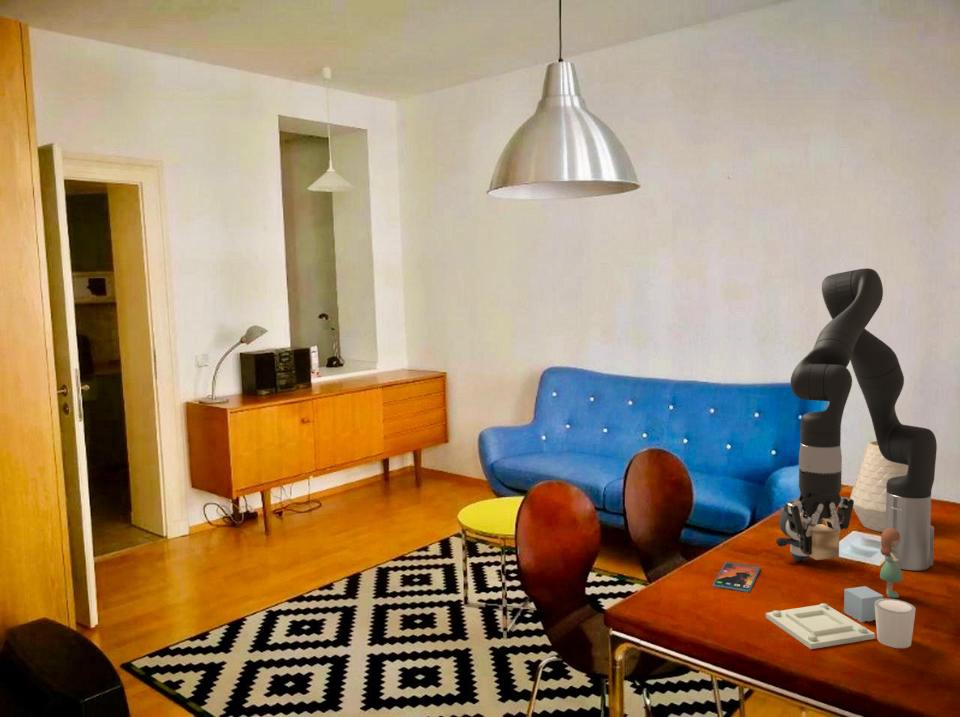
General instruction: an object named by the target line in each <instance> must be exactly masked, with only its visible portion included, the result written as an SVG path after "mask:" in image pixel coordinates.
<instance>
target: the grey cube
mask: <svg viewBox="0 0 960 717" xmlns="http://www.w3.org/2000/svg"><path fill="white" fill-rule="evenodd" d="M843 591H844V592H843V593H844V594H843V597H844V598H843V601H844V602H843V612H844V613H845V614H847V615H848V616H849V617H851V616H852V617H851V618H853V619H855V620H856V619H857V621H858V622H860V623H861V622H862V623H866V622H865V621H868V622H873V620H875V621H876V616H875V605H874V604H875V601H877V600H879V599H884V595H883V594H881V593H879V592H877V591H875V590H873V589H871V588H869V586H865V585H863V586H858V587H857V586H856V587H850V588H844V590H843Z"/></svg>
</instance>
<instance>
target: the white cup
mask: <svg viewBox="0 0 960 717" xmlns="http://www.w3.org/2000/svg"><path fill="white" fill-rule="evenodd" d="M874 605H875V616H876V620H875V624H876V625H875V626H876V639H877V641H878V642H879V644H883V645H884V646H887V647H890V648H895V649H907V648H909V647H911V646H912V641H913V633H914V625H915V616H916V607H915V606H914V605H913V604H911V603H909V602H907V601H904V600H901V599H897V598H883V599H879V600H877V601H875V604H874Z"/></svg>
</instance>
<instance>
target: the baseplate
mask: <svg viewBox="0 0 960 717" xmlns="http://www.w3.org/2000/svg"><path fill="white" fill-rule="evenodd" d="M765 618H766V619H767V620H768V621H770V622H771V623H773V624H774V625H775V626H777V627H778V628H780V629H781V630H783V631H784V632H785V633H787V634H789V635H790V636H791V637H793V638H794V639H796V640H797V641H798V642H800V643H801V644H802V645H804V646H806V647H807V648H808V649H809V650H814V649H815V650H816V649H820V648H827V647H832V646H833V647H834V646H838V645H844V644H851V643H857V642H863V641H869V640H875V639H876V634H875V632H873V631H871V630H870V629H868V628H867V627H866V626H863V625H861V624H860V623H858V622H856V621H855V620H853V619H851V618H850V617H848V616H846V615H845V614H843V613H841V612H840V611H838V610H836V609H834V608H833V607H832V606H829V604H828V603H823V602H822V603H820V604H816V605H809V606H803V607H797V608H790V609H784V610H775V609H774V610H772V611H770V612H765Z"/></svg>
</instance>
